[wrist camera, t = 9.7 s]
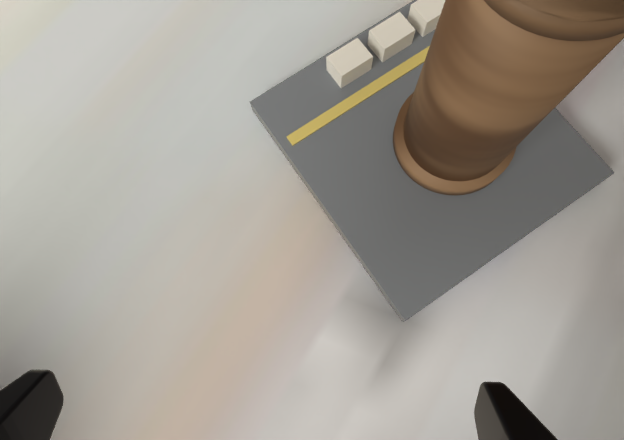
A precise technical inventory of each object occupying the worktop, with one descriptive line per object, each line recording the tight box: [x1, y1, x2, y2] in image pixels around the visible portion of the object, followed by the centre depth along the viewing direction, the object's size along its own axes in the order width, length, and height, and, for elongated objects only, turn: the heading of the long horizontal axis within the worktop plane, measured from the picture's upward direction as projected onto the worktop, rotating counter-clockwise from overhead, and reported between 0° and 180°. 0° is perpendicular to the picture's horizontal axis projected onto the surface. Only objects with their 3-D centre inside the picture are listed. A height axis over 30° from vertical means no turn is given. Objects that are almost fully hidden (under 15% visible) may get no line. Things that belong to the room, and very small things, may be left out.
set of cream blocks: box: [326, 0, 445, 88], centre depth 24 cm, size 1×8×1 cm, turn 124°
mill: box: [393, 0, 624, 196], centre depth 17 cm, size 6×6×12 cm
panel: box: [250, 0, 614, 321], centre depth 24 cm, size 14×13×1 cm
